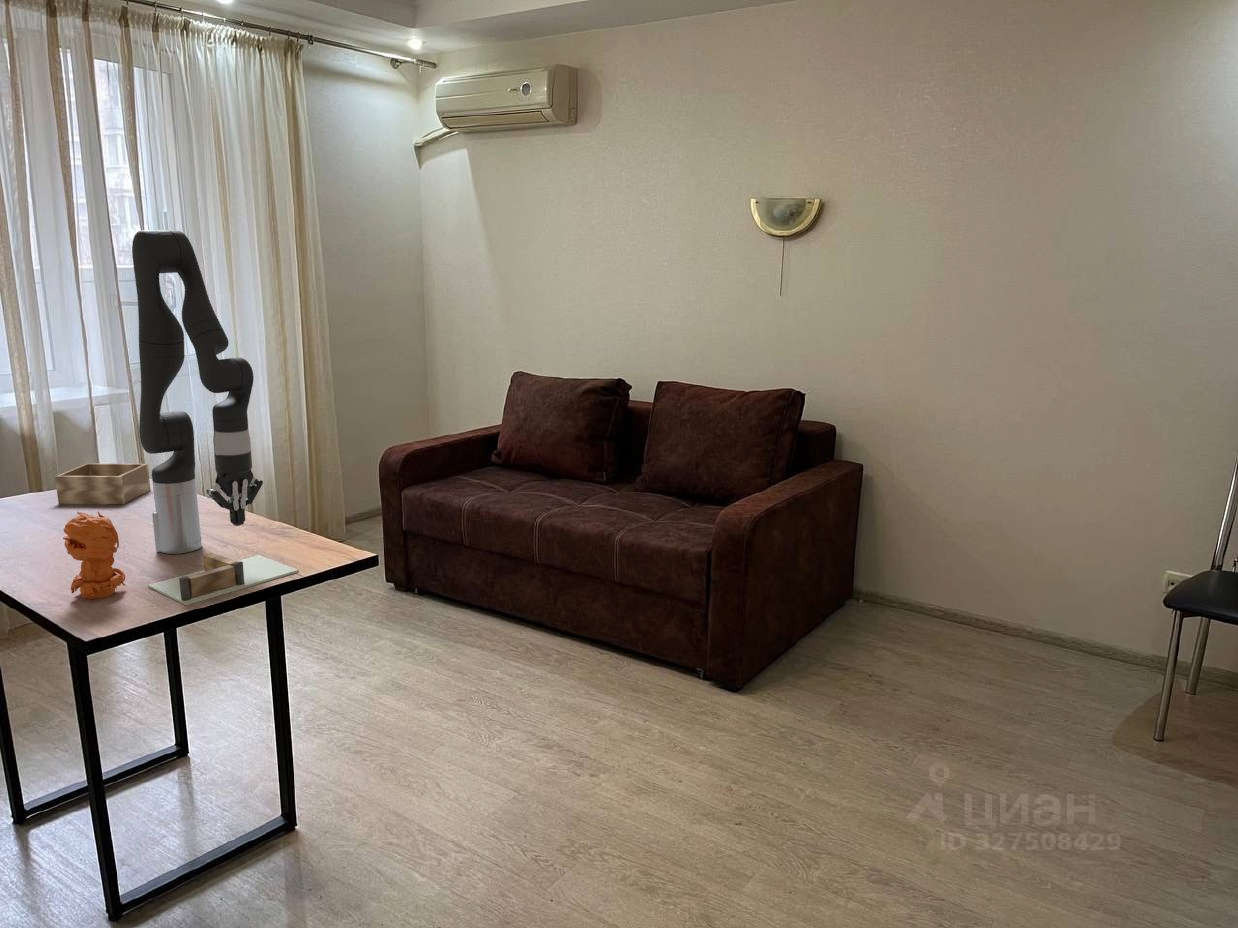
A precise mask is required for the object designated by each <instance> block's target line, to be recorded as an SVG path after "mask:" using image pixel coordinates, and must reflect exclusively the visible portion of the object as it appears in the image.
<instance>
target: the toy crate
mask: <svg viewBox="0 0 1238 928" xmlns="http://www.w3.org/2000/svg"><path fill="white" fill-rule="evenodd" d="M54 479H55V487H56V494H57V502H58V505H106V504H124V505H126V504H127V503H129V502H131V501H133V500H134V499H137V498H138V496H139V497H140V496H142V495H144V494H146V493H148V492H150V491H152V490H151V481H150V472H149V464H148V463H90V462H89V463H84V464H81V465H80V466H77V467H74V468H71V469H69V470H68V471H64V472H63V473H61V474H58V475H55V476H54ZM126 502H127V503H126Z"/></svg>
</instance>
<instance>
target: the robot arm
mask: <svg viewBox="0 0 1238 928" xmlns="http://www.w3.org/2000/svg"><path fill="white" fill-rule="evenodd" d="M131 243H132V244H131V245H132V246H131V253H132V254H131V255H132V263H133V273H134V279H135V286H136V295H137V308H138V309H137V311H138V313H137V314H138V315H137V316H138V351H139V367H140V369H139V371H140V403H139V422H138V423H139V425H138V428H139V429H138V431H139V439H140V445H141V447H142V449H143V450H144V451H145V452H146V453H147V454H151V455H154V454H163V453H170V452H172V455H171V456H170V457H169V458H168V459H167V460H165V461H164V462H163V463H160V464H158V465H156V466H154V468H153V469H152V470H151V481H152V489H153V497H154V507H155V508H154V509H155V511H154V512H152V514H151V516H152V524H153V525H152V526H153V533H154V534H153V535H154V544H155V545H154V546H155V551H156V552H158V553H159V552H160V553H163V554H169V555H176V554H186V553H191V552H193V551H197V550H199V549H201V547H202V546H203V545H202V535H201V534H202V533H201V524H200V522H201V521H200V512H199V503H198V502H199V501H198V492H197V491H198V490H197V483H196V481H197V480H196V456H195V454H196V453H195V431H194V426H193V424H194V423H193V421H192V418H191V416H190V415H189V414H188V413H187V412H186V411H183V410H178V411H176V410H175V411H167V412H161V410H162V403H163V400H164V397H165V395H166V392H167V390H168V389H169V387H170V386H171V384H172V382H173V381H174V380H175V378H176V377H177V376H178V374H179V372H180V370H181V368H182V366H183V365H184V361H185V334H184V330H185V332H186V334H187V336H188V338H189V340H190V342H191V344H192V346H193V348H194V351H195V355H196V361H197V367H198V373H199V379H200V382H201V384H202V385H203V387H204V388H205V389H206V390H208V391H209V392H211V393H213V394H221V393H228V394H227V396H226V398H224V399H223V400H222V401H220V402H217V403H216V404H214V405H213V407H212V414H211V415H212V423H213V425H212V426H213V427H212V428H213V438H212V440H213V441H212V442H213V454H214V467H215V473H216V478H215V481H214V482H215V484H214V486H212V487H211V488H208V489H206V494H207V495H208V496H209V497H210V498H212V500H213V501H214V502H215V503H216V504H217V505H218V506H219V507H220V508H222V509H225V510H228V511H229V519H230V520H229V521H230V523H231V524H232V525H233V526H236V527H240V526H243V525H244V522H246V510H245V509H246V507H247V506H249V505H252V504H253V502H254V500H255V499H256V497H257V495H258V494H259V491H260V490H261V487H262V486H263V484H264V481H263V480H261V479H259V478H256V477H255V476H254V473H253V471H252V469H253V461H252V460H253V459H252V456H253V455H252V447H251V446H252V443H251V437H250V430H249V418H248V410H249V409H248V408H249V406H250V405H249V404H250V399H251V394H252V389H253V385H254V377H255V376H254V371H253V368H252V366H251V364H250V363H249V362H248V360H246V359H245V358H242V357H230V358H222V359H219V358H218V356H217V355H219V354H221V353H224V352H225V351H226V350H227V348H228V347H229V339H228V337H227V334H226V332H225V330H224V328H223V326H222V324H221V322H220V320H219V319H218V318H219V317H218V316H217V314H216V313H215V310H214V309H213V305H212V303H211V301H210V298H209V295H208V291H207V288H206V284H205V281H204V278H203V274H202V272H201V269H200V265H199V262H198V260H197V256H196V253H195V251H194V248H193V245H192V243H191V240H190V239H189V237H188V236H187V235H186V234H185V233H184V232H183V231H181V230H177V229H142V230H139V231H138V230H137V232H136V233H135V234H134V236H133V239H132V242H131ZM172 273H173V274H174V273H177V275H178V276H179V277H180V279H181V282H182V284H183V287H184V297H183V301H182V308H181V322H182V324H181V323H180V322H179V320H178V318H177V317H176V316H175V314H174V313H173V312H172V310H171V309H170V307H169V306H168V304H167V303H166V301H165V298H164V296H163V294H162V289H161V284H160V283H161V281H160V274H172ZM182 325H183V327H182ZM183 328H184V330H183ZM222 493H224V496H223V495H222Z"/></svg>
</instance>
